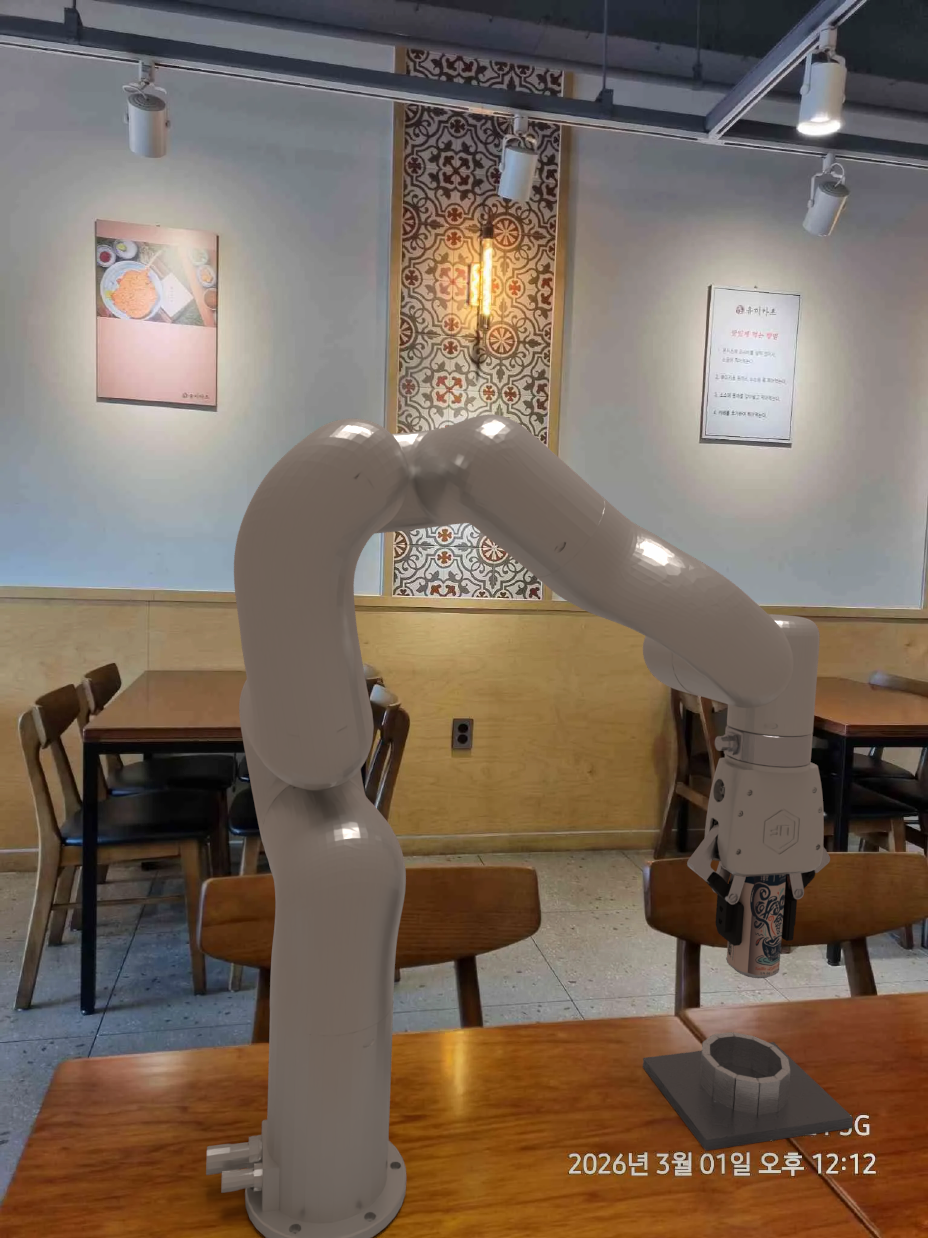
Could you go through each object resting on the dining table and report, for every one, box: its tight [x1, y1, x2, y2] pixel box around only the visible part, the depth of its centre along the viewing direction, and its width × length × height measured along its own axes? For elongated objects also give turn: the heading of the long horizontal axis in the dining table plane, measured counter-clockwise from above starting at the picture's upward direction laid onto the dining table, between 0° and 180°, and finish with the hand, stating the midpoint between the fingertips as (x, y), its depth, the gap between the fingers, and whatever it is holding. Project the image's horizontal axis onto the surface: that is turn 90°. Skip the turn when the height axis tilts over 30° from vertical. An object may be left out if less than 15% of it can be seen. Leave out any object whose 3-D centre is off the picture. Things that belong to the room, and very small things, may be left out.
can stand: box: [642, 1031, 854, 1152], centre depth 80 cm, size 15×12×4 cm
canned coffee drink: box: [725, 874, 786, 979], centre depth 79 cm, size 5×5×12 cm
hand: (754, 935), depth 79 cm, fingers closed on canned coffee drink, 4 cm apart
